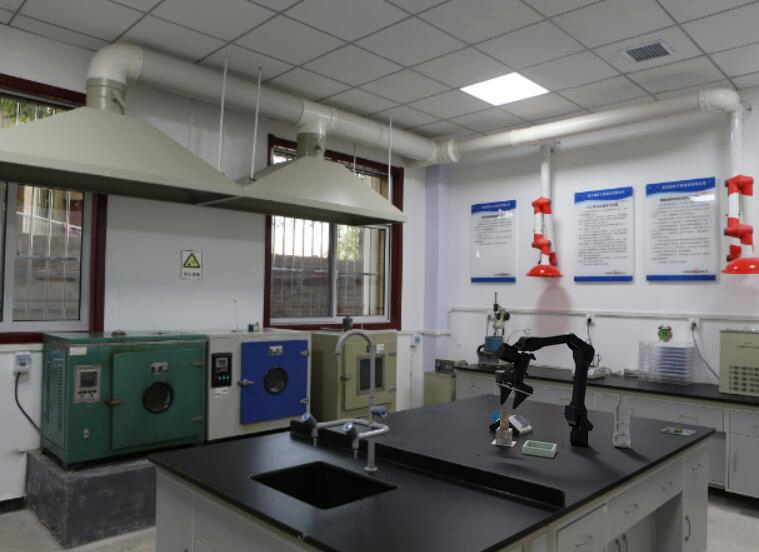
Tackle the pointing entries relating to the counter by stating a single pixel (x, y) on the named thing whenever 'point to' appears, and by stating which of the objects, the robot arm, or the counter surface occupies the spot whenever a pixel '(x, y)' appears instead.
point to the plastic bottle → (622, 422)
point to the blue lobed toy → (495, 416)
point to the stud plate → (503, 444)
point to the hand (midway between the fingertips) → (507, 406)
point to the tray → (539, 448)
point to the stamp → (504, 429)
